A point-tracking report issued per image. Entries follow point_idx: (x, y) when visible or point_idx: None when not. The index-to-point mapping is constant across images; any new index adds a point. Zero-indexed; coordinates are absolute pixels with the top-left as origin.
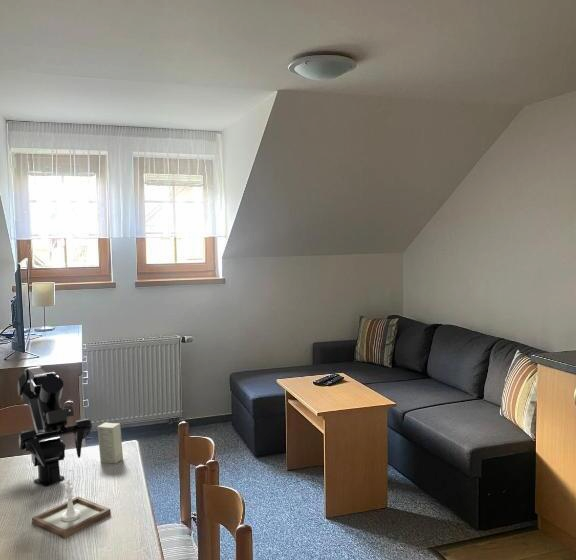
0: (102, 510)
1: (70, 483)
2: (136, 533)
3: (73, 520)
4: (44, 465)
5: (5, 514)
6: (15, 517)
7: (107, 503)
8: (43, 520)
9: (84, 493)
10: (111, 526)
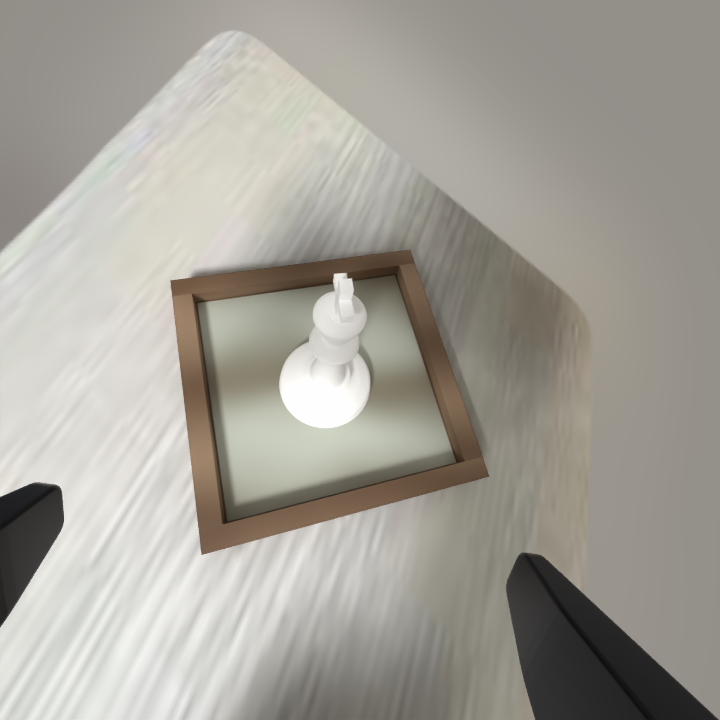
0: (195, 315)
1: (339, 275)
2: (199, 126)
3: None
4: (516, 567)
5: None
6: None
7: (112, 410)
8: (448, 405)
9: (113, 659)
10: (233, 219)
